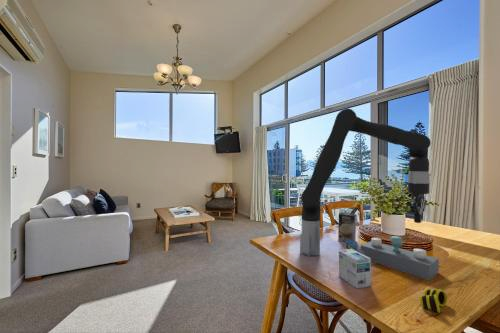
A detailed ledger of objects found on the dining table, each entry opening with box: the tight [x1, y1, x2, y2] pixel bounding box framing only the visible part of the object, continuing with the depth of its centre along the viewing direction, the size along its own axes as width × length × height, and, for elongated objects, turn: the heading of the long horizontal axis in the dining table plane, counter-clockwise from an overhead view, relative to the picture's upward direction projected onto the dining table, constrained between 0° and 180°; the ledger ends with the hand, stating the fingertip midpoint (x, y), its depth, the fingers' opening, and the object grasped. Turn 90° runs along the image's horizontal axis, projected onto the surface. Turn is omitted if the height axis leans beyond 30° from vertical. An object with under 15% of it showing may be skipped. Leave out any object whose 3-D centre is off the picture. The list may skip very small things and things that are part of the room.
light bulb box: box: [338, 248, 372, 289], centre depth 91 cm, size 11×7×11 cm, turn 17°
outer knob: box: [412, 248, 427, 260], centre depth 99 cm, size 4×4×8 cm
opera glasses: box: [419, 288, 448, 314], centre depth 76 cm, size 10×5×5 cm, turn 129°
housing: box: [359, 240, 440, 281], centre depth 106 cm, size 11×28×6 cm, turn 36°
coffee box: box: [337, 211, 357, 244], centre depth 139 cm, size 9×6×16 cm
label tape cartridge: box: [345, 238, 365, 255], centre depth 103 cm, size 9×4×12 cm, turn 9°
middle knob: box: [390, 235, 403, 253], centre depth 106 cm, size 4×4×8 cm
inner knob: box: [370, 237, 383, 247], centre depth 114 cm, size 4×4×8 cm
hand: (417, 222), depth 100 cm, fingers closed
